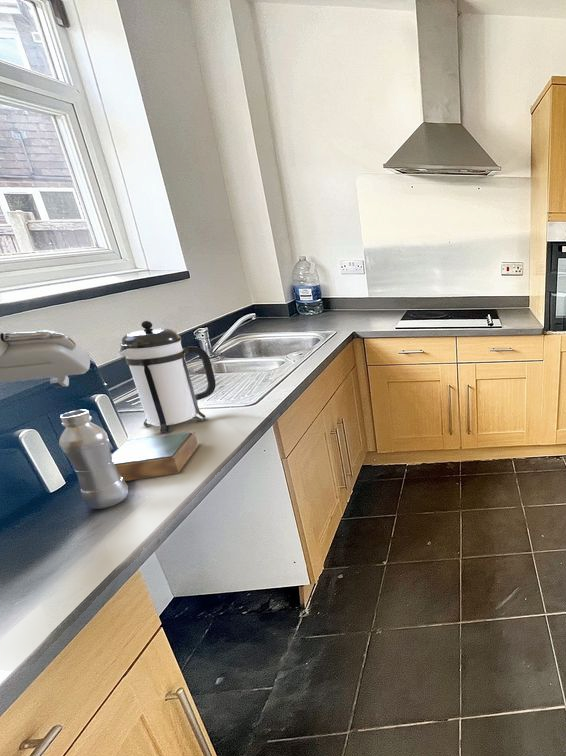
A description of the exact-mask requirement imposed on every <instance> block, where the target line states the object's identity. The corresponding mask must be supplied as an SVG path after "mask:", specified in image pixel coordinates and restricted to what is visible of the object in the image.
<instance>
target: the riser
mask: <svg viewBox="0 0 566 756" xmlns="http://www.w3.org/2000/svg"><path fill="white" fill-rule="evenodd" d="M198 447H199V443H198V439H197V435H196V433H195V432H194V431H187V432H180V433H173V434H165V435H155V436H149V437H142V438H133V439H128V440H126V441H125V442H124V443H123V444H122V445H120V447H118V448H117V449H116V450H115V451H114V452H113V453H111V455H112V459H113V462H114V464H115V466H116V468H117V470H118V472H119V474H120V476H121V477H122V478H123V479H124V481H125V482H128V481H135V480H140V479H148V478H156V477H161V476H168V475H174V474H179V473H181V470H182V469H183V468H184V467H185V465H186V463H187V462H188V461H189V459H190V458H191V457H192V455H194V453H195V452H196V450H197V448H198Z"/></svg>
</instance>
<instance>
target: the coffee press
mask: <svg viewBox="0 0 566 756" xmlns="http://www.w3.org/2000/svg"><path fill="white" fill-rule="evenodd" d="M141 327H142V328H143V329H139V330H138V329H137V330H134V331H131V332H128V333H126V334H125V335H123V337H122V338H121V342H120V343H119V349H118V352H117V357H118V358H120V357H124V359H125V362H126V364H127V365H128V367H129V370H130V373H131V375H132V380H133V383H134V385H135V386H134V387H135V389H136V391H137V395H138V399H139V401H140V404H141V408H142V410H143V413H144V416H145V420H144V421H143V426H144V427H147V428H149V427H150V426H151V425H152V426H159V432H160V433H161V434H168V433H169V431H170V427H171V426H173V425H177V424H181V423H184V422H187V421H190V420H191V419H195V420H197V421H199V422H203V421H204V420H205V419H206V418H207V417H206V415H205V414H204V413H203V412H201V411H200V408H199V405H198V404H199V401H200V400H203V399H206V398H208V397H210V396H211V395H212V394H213V393H214V391H215V390H216V385H217V384H216V377H215V374H214V370H213V366H212V362H211V359H210V356H209V354H208V353H207V351H205V350H204V349H203V348H202V347H199V346H191V345H189V346H186V347H183V346H182V336H181V335H179V334H178V332H177V331H175V330H173V329H171V328H163V327H161V328H159V327H158V328H152V327H153V323H152V321H149V320H144V321H142V322H141ZM191 353H192V354H193V353H195V354H197V355H198V356H199V357H200V359H201V361H202V365H203V369H204V372H205V376H206V381H207V387H206V389H205V390H203V391H201V392H199V393H196V394H195V390H194V386H193V383H192V379H191V375H190V372H189V371H190V370H189V368H188V363H187V361H186V354H191ZM197 415H199V416H197Z"/></svg>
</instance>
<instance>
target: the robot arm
mask: <svg viewBox="0 0 566 756" xmlns="http://www.w3.org/2000/svg"><path fill="white" fill-rule="evenodd" d="M90 366H91V354H90V352H89V350H87V349H86V348H85V347H84V346H82V345H81V344H80V343H79V342H77V341H76V340H74V339H73V338H71V337H70V336H69V335H68V334H65V333H61V332H58V331H53V330H37V331H26V332H25V331H23V332H7V330H6V329H5V328H4V327H3V326H1V325H0V384H3V383H13V382H23V381H31V380H39V379H41V380H42V379H49V378H50V379H49V384H50V385H51V386H53V388H63V387H69V385H70V377H69V376H74V375H75V376H76V375H84V374H86V373H87V372H88V371H89V370H90Z"/></svg>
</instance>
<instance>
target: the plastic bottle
mask: <svg viewBox="0 0 566 756" xmlns="http://www.w3.org/2000/svg"><path fill="white" fill-rule="evenodd" d="M60 420H61V425H62V426H63V427H65V428H64V430H63V431H62V433H61V435H60V437H59V440H58V446H59V447H60V450H61V451H62V452H63V453H64V455H65V456H66V458H67V459H68V461H69V462H70V463H71V466H72V468H73V469H74V472H75V474H76V476H77V480H78V482H79V483H78V484H79V488H80V495H81V500H82V502H83V503H84V504H85V506H86V507H88V508H90V509H93V510H100V509H101V510H102V509H106V508H109V507H112V506H114V505H117V504H119V503H121V502H123V501H125V499H126V498H127V496H128V494H129V486H128V484H127V483H126V482H127V481H124V479H123V478H122V477H121V476H120V474H119V472H118V470H117V468H116V466H115V464H114V462H113V459H112V452H111V448H110V446H111V445H110V440H109V436H108V433H107V432H106V431H105V430H104V428H102V427H101V426H99V425H97V424H96V423H93V422H91V421H92V420H93V417H92V416H91V415H90V412H89V410H88V409H78V410H72V411H68V412H65V413H63V414H60Z"/></svg>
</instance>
